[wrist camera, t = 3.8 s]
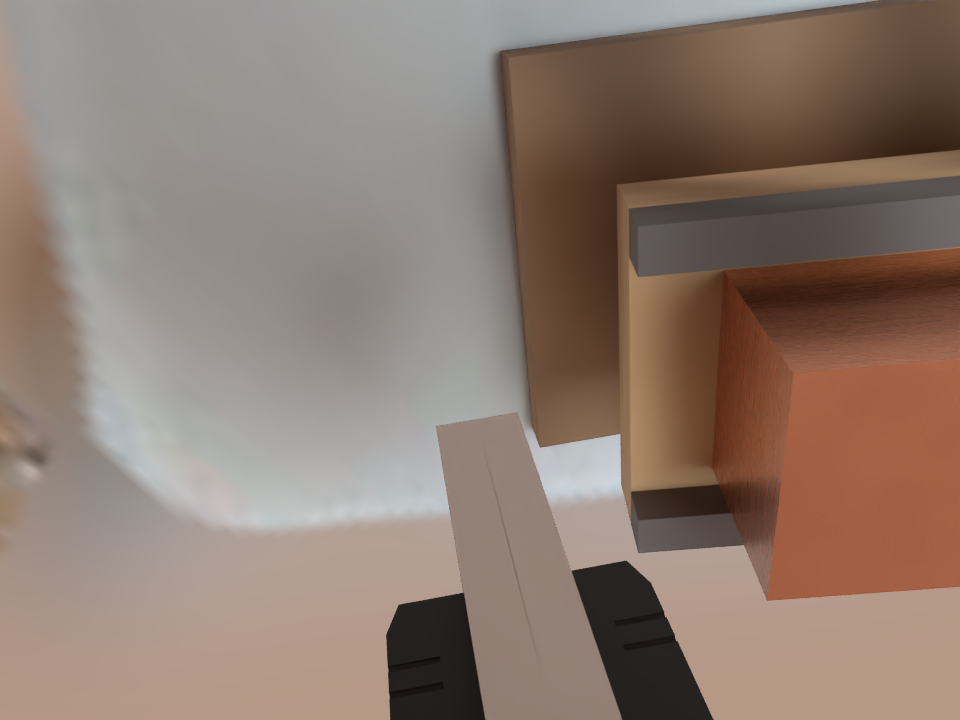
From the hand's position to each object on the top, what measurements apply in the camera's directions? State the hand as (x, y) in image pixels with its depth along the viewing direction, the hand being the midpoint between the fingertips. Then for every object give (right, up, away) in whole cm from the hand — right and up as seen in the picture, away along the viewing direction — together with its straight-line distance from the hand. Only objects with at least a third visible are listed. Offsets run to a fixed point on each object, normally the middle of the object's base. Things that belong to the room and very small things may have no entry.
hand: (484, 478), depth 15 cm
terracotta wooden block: (+8, +2, +2) cm, 9 cm away
